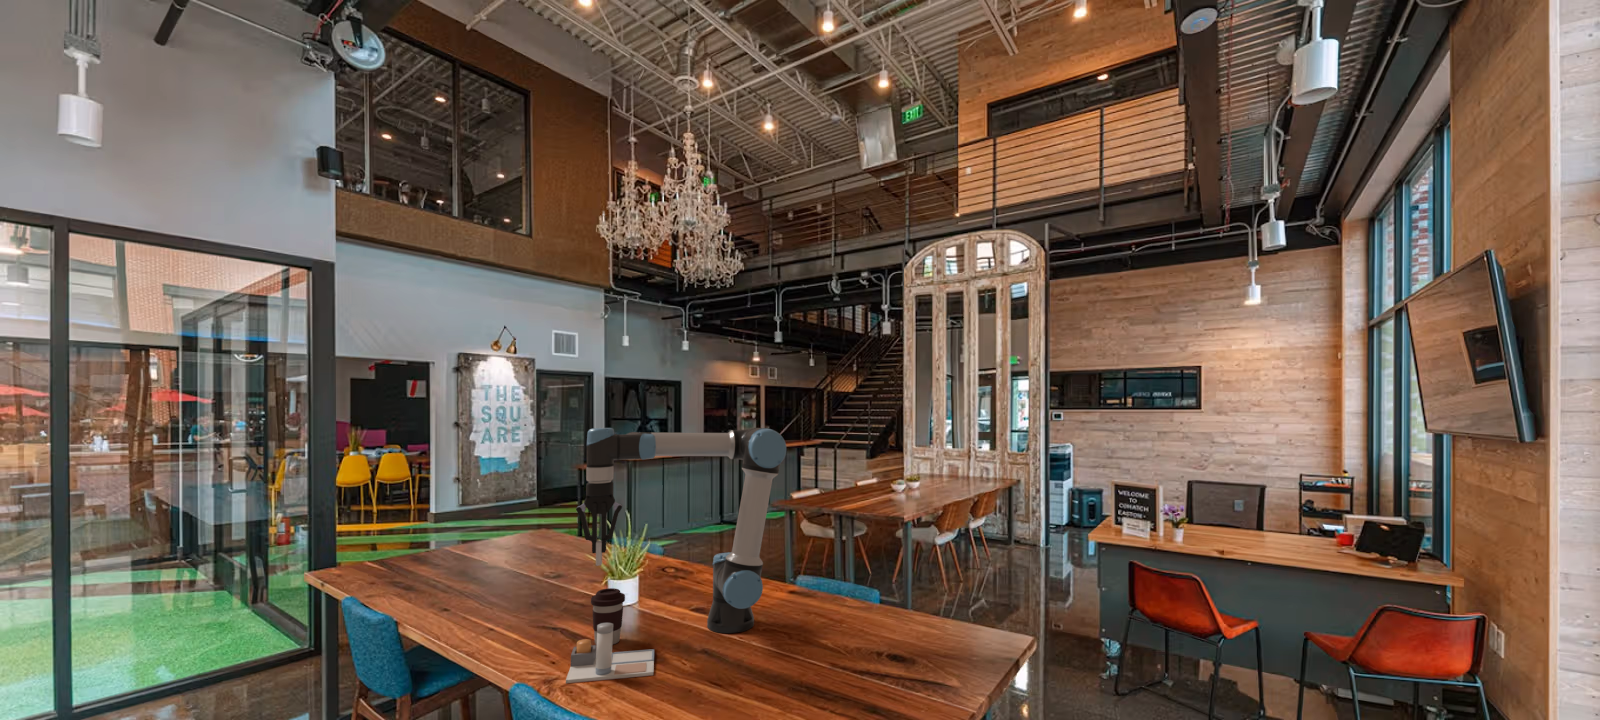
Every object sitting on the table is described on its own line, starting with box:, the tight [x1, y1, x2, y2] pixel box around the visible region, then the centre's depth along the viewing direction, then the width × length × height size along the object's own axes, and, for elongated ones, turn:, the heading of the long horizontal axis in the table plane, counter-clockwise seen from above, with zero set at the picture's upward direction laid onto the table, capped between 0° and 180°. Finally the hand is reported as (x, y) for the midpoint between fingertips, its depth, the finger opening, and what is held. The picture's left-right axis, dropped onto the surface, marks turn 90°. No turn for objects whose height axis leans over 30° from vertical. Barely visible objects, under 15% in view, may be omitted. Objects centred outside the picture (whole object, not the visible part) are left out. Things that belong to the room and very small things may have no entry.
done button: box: [576, 638, 592, 654], centre depth 172 cm, size 4×4×5 cm
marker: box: [595, 623, 613, 675], centre depth 165 cm, size 4×4×12 cm
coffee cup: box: [590, 587, 626, 646], centre depth 188 cm, size 10×10×15 cm
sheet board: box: [565, 644, 655, 684], centre depth 170 cm, size 22×16×4 cm
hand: (598, 564), depth 178 cm, fingers closed
